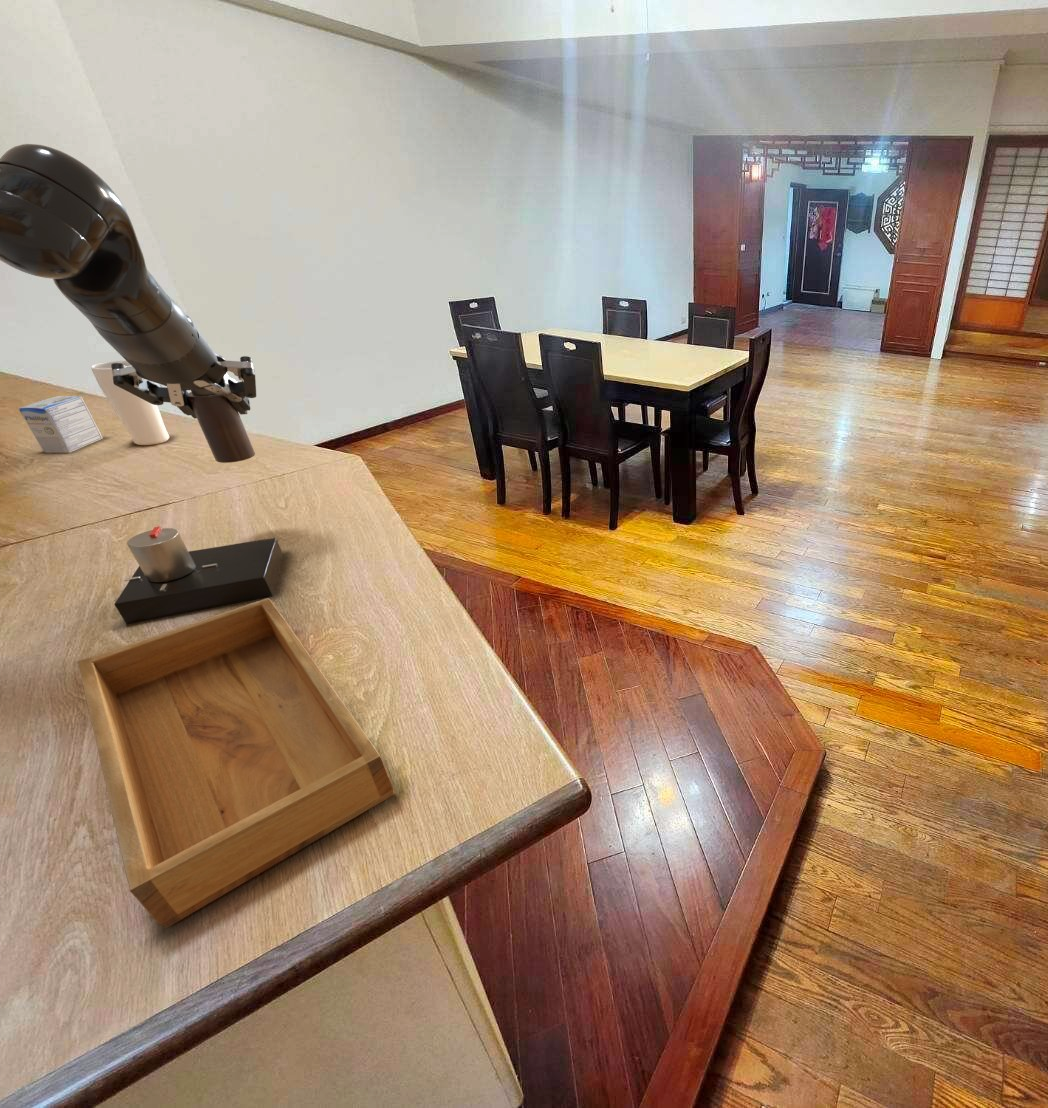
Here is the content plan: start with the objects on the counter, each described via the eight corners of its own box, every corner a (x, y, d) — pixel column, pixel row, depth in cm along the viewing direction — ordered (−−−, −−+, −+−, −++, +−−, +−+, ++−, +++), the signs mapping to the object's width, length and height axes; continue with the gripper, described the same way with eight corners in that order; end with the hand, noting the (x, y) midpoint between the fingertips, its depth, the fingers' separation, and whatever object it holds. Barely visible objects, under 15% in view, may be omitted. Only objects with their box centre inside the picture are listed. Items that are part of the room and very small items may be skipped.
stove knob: (190, 577, 72) (171, 539, 69) (141, 586, 70) (119, 547, 67) (199, 559, 75) (181, 523, 72) (153, 567, 73) (132, 530, 71)
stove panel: (122, 626, 68) (108, 603, 66) (150, 578, 76) (138, 557, 75) (272, 596, 74) (263, 575, 72) (284, 555, 82) (275, 536, 81)
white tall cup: (168, 433, 120) (133, 358, 113) (180, 441, 117) (144, 364, 110) (125, 442, 116) (85, 364, 108) (136, 450, 112) (95, 370, 105)
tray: (397, 796, 50) (379, 751, 47) (166, 934, 40) (125, 887, 37) (287, 636, 68) (269, 596, 65) (107, 705, 58) (76, 661, 55)
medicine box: (79, 439, 116) (55, 395, 112) (104, 439, 117) (81, 395, 112) (43, 453, 109) (16, 407, 105) (70, 453, 110) (44, 408, 105)
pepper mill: (212, 464, 79) (178, 390, 74) (219, 453, 82) (187, 382, 77) (252, 460, 81) (222, 387, 76) (257, 449, 84) (229, 379, 79)
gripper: (67, 367, 61) (156, 441, 76) (237, 358, 67) (288, 429, 82) (60, 305, 62) (149, 390, 78) (227, 301, 68) (280, 381, 84)
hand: (220, 410), depth 80 cm, fingers closed on pepper mill, 4 cm apart
